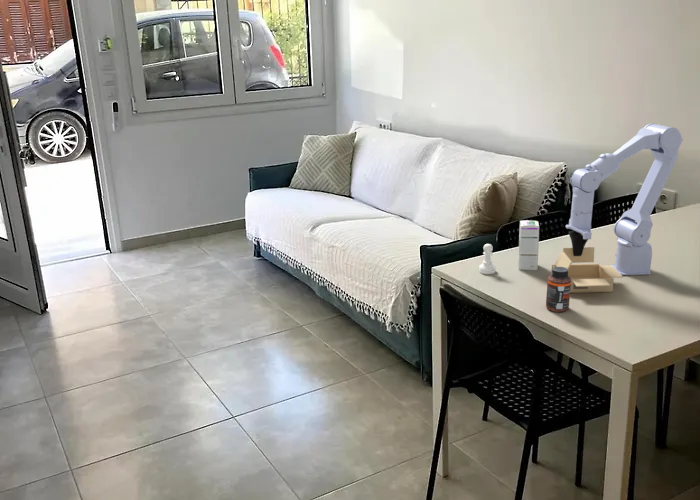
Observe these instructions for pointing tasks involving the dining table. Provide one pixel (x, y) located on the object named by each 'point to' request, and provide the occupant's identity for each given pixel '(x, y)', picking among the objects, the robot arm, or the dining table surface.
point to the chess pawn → (487, 261)
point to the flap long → (563, 261)
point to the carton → (591, 278)
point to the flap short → (585, 257)
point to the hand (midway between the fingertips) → (577, 255)
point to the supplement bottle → (558, 290)
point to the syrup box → (528, 245)
